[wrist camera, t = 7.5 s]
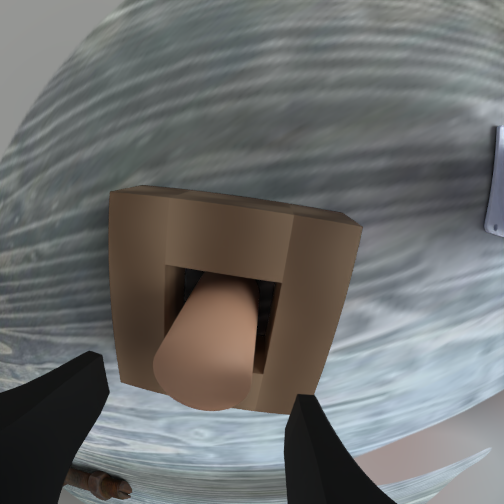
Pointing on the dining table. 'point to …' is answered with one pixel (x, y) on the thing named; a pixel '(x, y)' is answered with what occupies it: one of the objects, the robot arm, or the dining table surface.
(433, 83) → the dining table surface
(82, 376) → the robot arm
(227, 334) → the peg
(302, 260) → the socket block
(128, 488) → the bolt
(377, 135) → the dining table surface
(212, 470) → the dining table surface
